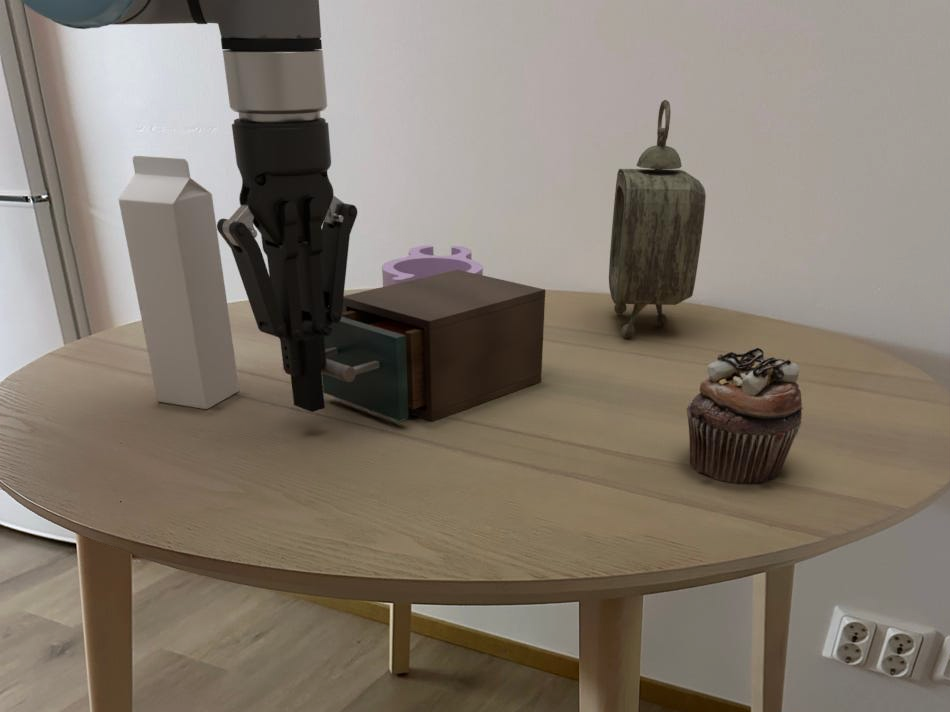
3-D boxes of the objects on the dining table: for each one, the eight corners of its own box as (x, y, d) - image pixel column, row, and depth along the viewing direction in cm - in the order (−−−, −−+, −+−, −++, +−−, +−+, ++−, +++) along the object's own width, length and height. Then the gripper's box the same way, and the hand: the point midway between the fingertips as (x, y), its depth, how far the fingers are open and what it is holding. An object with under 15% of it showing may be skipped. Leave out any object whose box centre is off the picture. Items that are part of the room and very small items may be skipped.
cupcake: (812, 466, 81) (837, 352, 76) (752, 499, 76) (775, 379, 70) (719, 436, 87) (737, 328, 81) (657, 464, 81) (672, 351, 76)
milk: (192, 384, 98) (153, 151, 86) (241, 391, 96) (208, 155, 84) (156, 402, 93) (109, 158, 81) (206, 410, 92) (166, 162, 79)
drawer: (363, 434, 84) (357, 348, 80) (287, 403, 91) (278, 323, 86) (508, 382, 97) (510, 306, 92) (432, 359, 103) (430, 286, 99)
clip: (399, 297, 129) (397, 244, 125) (488, 299, 128) (488, 246, 124) (376, 338, 112) (372, 279, 108) (478, 341, 112) (478, 281, 108)
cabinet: (431, 422, 90) (429, 321, 84) (347, 391, 97) (340, 296, 91) (541, 381, 100) (545, 289, 94) (457, 356, 107) (457, 269, 101)
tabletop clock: (605, 311, 124) (623, 95, 110) (672, 312, 124) (699, 96, 110) (613, 342, 112) (635, 104, 98) (688, 344, 112) (721, 106, 98)
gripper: (315, 107, 78) (338, 380, 92) (180, 117, 71) (226, 414, 84) (373, 113, 74) (388, 399, 87) (237, 124, 66) (276, 436, 80)
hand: (309, 406), depth 86 cm, fingers closed
